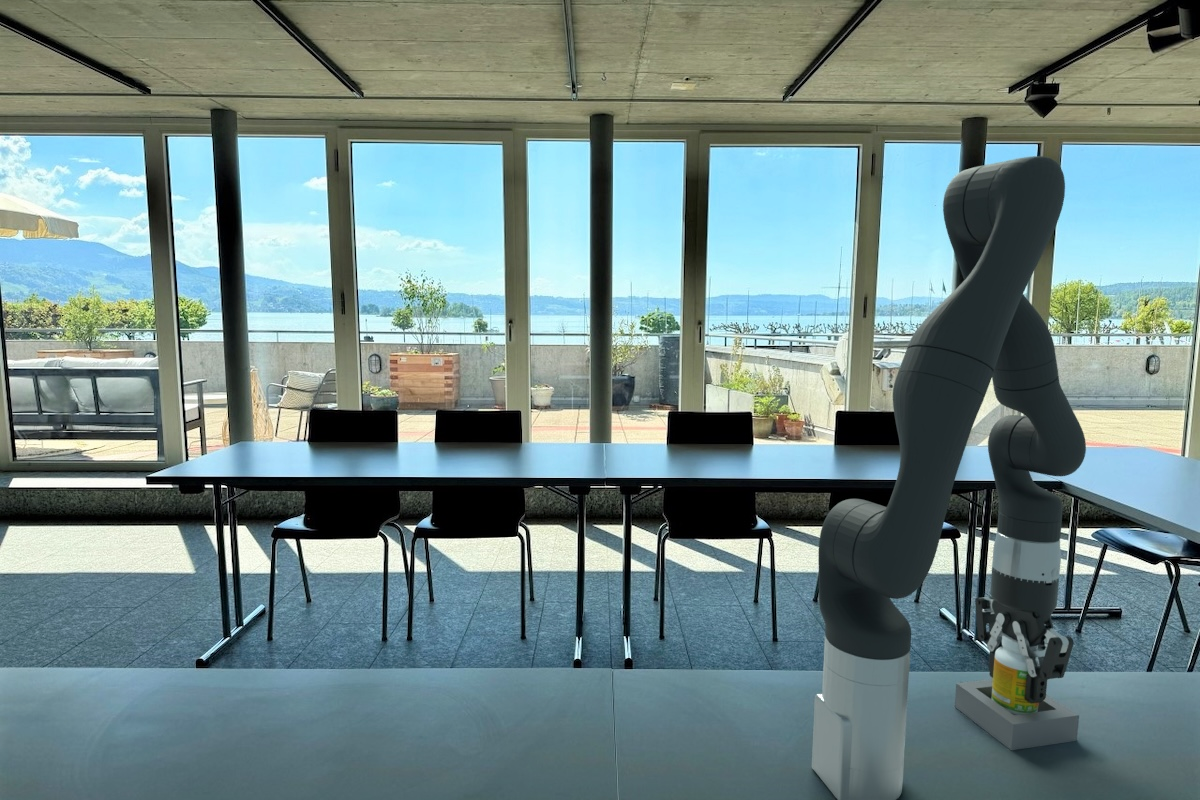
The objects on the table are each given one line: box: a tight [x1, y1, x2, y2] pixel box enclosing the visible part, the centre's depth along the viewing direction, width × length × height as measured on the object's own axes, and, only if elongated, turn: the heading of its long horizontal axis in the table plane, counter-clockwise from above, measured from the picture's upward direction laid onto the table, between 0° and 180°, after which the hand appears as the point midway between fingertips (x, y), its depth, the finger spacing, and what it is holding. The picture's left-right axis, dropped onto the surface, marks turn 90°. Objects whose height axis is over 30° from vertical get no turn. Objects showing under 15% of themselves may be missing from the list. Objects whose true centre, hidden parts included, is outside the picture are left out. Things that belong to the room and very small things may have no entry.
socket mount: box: [954, 678, 1080, 751], centre depth 92 cm, size 10×10×4 cm
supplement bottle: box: [992, 633, 1040, 715], centre depth 91 cm, size 5×5×10 cm
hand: (1015, 688), depth 91 cm, fingers closed on supplement bottle, 5 cm apart
